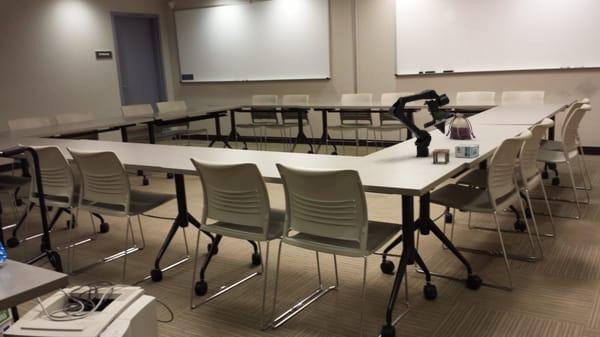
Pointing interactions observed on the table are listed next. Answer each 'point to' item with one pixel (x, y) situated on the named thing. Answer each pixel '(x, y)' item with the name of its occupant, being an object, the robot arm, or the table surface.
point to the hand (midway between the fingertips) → (444, 133)
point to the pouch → (460, 128)
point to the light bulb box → (467, 150)
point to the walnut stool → (440, 151)
